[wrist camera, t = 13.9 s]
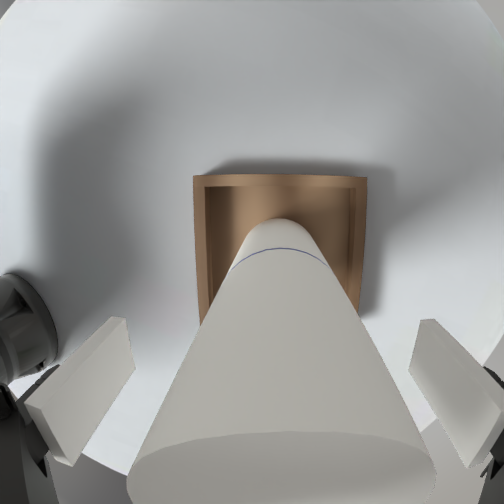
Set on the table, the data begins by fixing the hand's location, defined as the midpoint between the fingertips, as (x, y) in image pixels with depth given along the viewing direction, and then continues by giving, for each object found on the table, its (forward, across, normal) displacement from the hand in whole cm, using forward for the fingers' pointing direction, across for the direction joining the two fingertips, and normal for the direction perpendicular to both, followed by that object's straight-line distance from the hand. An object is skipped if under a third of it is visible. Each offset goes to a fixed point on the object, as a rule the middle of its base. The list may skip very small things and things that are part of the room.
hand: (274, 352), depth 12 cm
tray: (+18, +1, 0) cm, 18 cm away
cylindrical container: (+17, +1, 0) cm, 17 cm away
